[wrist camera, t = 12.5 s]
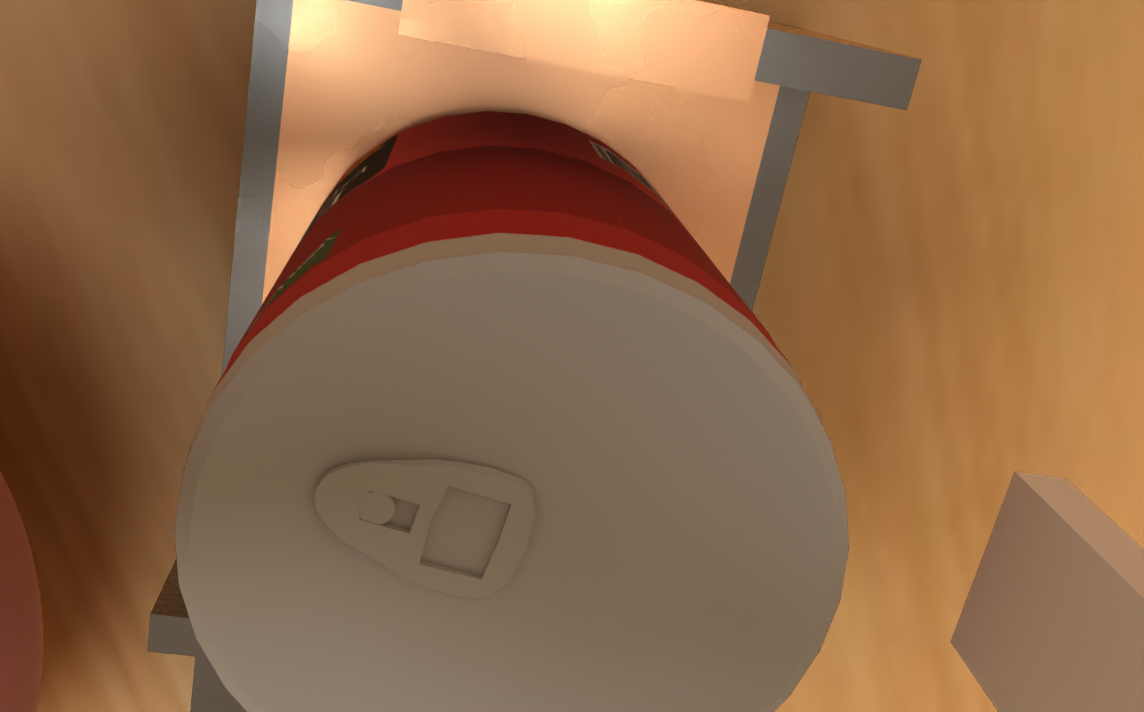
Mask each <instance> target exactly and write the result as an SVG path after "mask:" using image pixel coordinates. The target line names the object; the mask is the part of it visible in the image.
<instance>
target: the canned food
mask: <svg viewBox="0 0 1144 712" xmlns="http://www.w3.org/2000/svg"><path fill="white" fill-rule="evenodd" d="M174 530H175V543H176V556H177V568H178V581H179V587H180V590H181V593H182V596H183V599H184V602H185V605H186V608H187V611H188V615H189V618H190V621H191V624H192V627H193V630H194V633H195V636H196V639H197V641H198V642H199V644H200V646H201V647H202V649H203V651H204V653H205V654H206V656H207V658H208V659H209V661H210V663H211V664H212V666H213V668H214V669H215V671H216V673H217V674H218V676H219V678H220V680H221V681H222V683H223V685H224V686H225V688H226V689H227V690H228V691H229V692H230V693H231V694H232V696H233V697H234V698H235V699H236V700H237V701H238V702H239V703H240V704H241V705H242V707H243V708H244V709H245V710H246V711H247V712H774V711H775V710H776V709H777V708H778V707H779V706H780V705H781V704H782V703H783V702H784V701H785V700H786V699H787V698H788V697H789V696H790V695H791V693H792V692H793V690H794V689H795V687H796V686H797V684H798V683H799V681H800V680H801V678H802V677H803V675H804V674H805V672H806V671H807V669H808V668H809V666H810V665H811V663H812V662H813V660H814V659H815V657H816V656H817V654H818V653H819V651H820V649H821V647H822V644H823V642H824V639H825V637H826V634H827V632H828V629H829V627H830V624H831V622H832V619H833V617H834V614H835V612H836V609H837V607H838V604H839V602H840V598H841V592H842V586H843V580H844V574H845V568H846V562H847V556H848V550H849V539H848V522H847V506H846V492H845V489H844V485H843V482H842V479H841V475H840V472H839V469H838V465H837V462H836V459H835V455H834V452H833V449H832V445H831V442H830V438H829V437H828V435H827V433H826V431H825V430H824V428H823V424H822V421H821V418H820V416H819V414H818V412H817V410H816V408H815V407H814V405H813V403H812V401H811V400H810V398H809V396H808V394H807V393H806V391H805V389H804V387H803V386H802V384H801V382H800V380H799V379H798V377H797V375H796V373H795V371H794V370H793V368H792V366H791V365H790V364H789V362H788V361H787V360H786V358H785V357H784V356H783V354H782V353H781V352H780V350H779V349H778V348H777V347H776V345H775V343H774V342H773V340H772V338H771V336H770V334H769V333H768V332H767V331H766V329H765V328H764V327H763V325H762V324H761V323H760V322H759V320H758V319H757V318H756V317H755V315H754V314H753V313H752V311H751V310H750V309H749V308H748V306H747V305H746V304H745V303H744V301H743V300H742V299H741V297H740V296H739V295H738V294H737V292H736V291H735V290H734V289H733V287H732V286H731V285H730V283H729V282H728V281H727V280H726V278H725V277H724V276H723V275H722V273H721V272H720V271H719V270H718V268H717V267H716V266H715V264H714V263H713V262H712V261H711V259H710V258H709V257H708V256H707V254H706V253H705V252H704V250H703V249H702V248H701V247H700V245H699V244H698V243H697V242H696V240H695V239H694V238H693V236H692V235H691V234H690V233H689V231H688V230H687V229H686V228H685V226H684V225H683V224H682V222H681V221H680V220H679V219H678V217H677V216H676V215H675V214H674V212H673V211H672V210H671V208H670V207H669V206H668V205H667V203H666V202H665V201H664V200H663V198H662V197H661V196H660V194H659V193H658V192H657V191H656V190H655V189H654V188H653V187H652V185H651V184H650V183H649V182H648V181H647V180H646V179H645V178H644V176H643V175H642V174H641V173H640V172H639V171H638V170H637V169H636V167H635V166H634V165H632V164H631V163H630V162H628V161H627V160H626V159H624V158H623V157H622V156H620V155H619V154H618V153H616V152H615V151H614V150H612V149H611V148H610V147H608V146H607V145H606V144H604V143H603V142H601V141H599V140H597V139H595V138H593V137H591V136H589V135H587V134H585V133H583V132H581V131H579V130H577V129H575V128H573V127H571V126H568V125H566V124H563V123H559V122H555V121H551V120H548V119H544V118H540V117H536V116H533V115H529V114H520V113H506V112H492V111H483V112H475V113H466V114H458V115H450V116H444V117H441V118H438V119H435V120H432V121H429V122H426V123H423V124H420V125H417V126H414V127H411V128H408V129H406V130H404V131H402V132H400V133H399V134H397V135H395V136H393V137H392V138H390V139H388V140H386V141H385V142H383V143H381V144H379V145H378V146H376V147H374V148H373V149H372V150H370V151H369V152H368V153H367V154H366V155H365V156H364V157H363V158H361V159H360V160H359V161H358V162H357V163H356V164H355V165H354V166H352V167H351V168H350V169H349V170H348V171H347V172H346V173H345V174H344V175H343V176H342V177H341V179H340V180H339V182H338V183H337V184H336V186H335V187H334V188H333V190H332V191H331V193H330V194H329V195H328V197H327V198H326V199H325V201H324V202H323V204H322V205H321V207H320V208H319V210H318V212H317V213H316V215H315V217H314V218H313V220H312V222H311V223H310V225H309V227H308V228H307V230H306V232H305V233H304V235H303V237H302V238H301V240H300V242H299V244H298V245H297V247H296V249H295V250H294V252H293V254H292V255H291V257H290V259H289V260H288V262H287V264H286V265H285V267H284V269H283V270H282V272H281V274H280V275H279V277H278V279H277V280H276V282H275V284H274V285H273V287H272V289H271V290H270V292H269V294H268V295H267V297H266V299H265V300H264V302H263V304H262V305H261V307H260V309H259V311H258V312H257V314H256V316H255V317H254V319H253V321H252V322H251V324H250V326H249V327H248V329H247V331H246V332H245V334H244V336H243V337H242V339H241V341H240V342H239V344H238V346H237V347H236V349H235V351H234V352H233V354H232V356H231V358H230V360H229V363H228V365H227V367H226V370H225V372H224V374H223V375H222V377H221V379H220V380H219V382H218V384H217V386H216V387H215V389H214V391H213V393H212V396H211V398H210V400H209V403H208V405H207V407H206V410H205V412H204V414H203V417H202V419H201V421H200V424H199V426H198V428H197V431H196V433H195V435H194V438H193V440H192V443H191V445H190V449H189V455H188V461H187V463H186V466H185V468H184V471H183V478H182V484H181V490H180V496H179V502H178V508H177V514H176V520H175V526H174Z"/></svg>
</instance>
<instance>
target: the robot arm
mask: <svg viewBox="0 0 1144 712" xmlns="http://www.w3.org/2000/svg"><path fill="white" fill-rule="evenodd" d="M951 643H952V645H953V646H954V648H955V649H956V651H957V652H958V654H959V655H960V656H961V658H962V659H963V661H964V662H965V664H966V665H967V667H968V668H969V670H970V671H971V673H972V674H973V675H974V677H975V678H976V680H977V681H978V683H979V684H980V686H981V687H982V689H983V690H984V692H985V693H986V695H987V696H988V697H989V699H990V700H991V702H992V703H993V705H994V706H995V708H996V709H997V711H998V712H1144V549H1143V548H1142V547H1141V546H1140V545H1139V544H1138V543H1137V542H1135V541H1134V540H1133V539H1132V538H1131V537H1130V536H1129V535H1128V534H1127V533H1126V532H1124V531H1123V530H1122V529H1121V528H1120V527H1119V526H1118V525H1117V524H1116V523H1115V522H1114V521H1112V520H1111V519H1110V518H1109V517H1108V516H1107V515H1106V514H1105V513H1104V512H1103V511H1101V510H1100V509H1099V508H1098V507H1097V506H1096V505H1095V504H1094V503H1093V502H1092V501H1091V500H1089V499H1088V498H1087V497H1086V496H1085V495H1084V494H1083V493H1082V492H1081V491H1080V490H1078V489H1077V488H1076V487H1075V486H1074V485H1073V484H1072V483H1071V482H1070V481H1069V480H1068V479H1066V478H1059V477H1052V476H1045V475H1038V474H1031V473H1024V472H1017V471H1015V472H1014V474H1013V477H1012V480H1011V482H1010V485H1009V488H1008V490H1007V493H1006V496H1005V498H1004V501H1003V504H1002V506H1001V509H1000V512H999V514H998V517H997V520H996V522H995V525H994V528H993V530H992V533H991V536H990V538H989V541H988V544H987V546H986V549H985V552H984V554H983V557H982V560H981V562H980V565H979V568H978V570H977V573H976V576H975V578H974V581H973V584H972V586H971V589H970V591H969V594H968V597H967V599H966V602H965V605H964V607H963V610H962V613H961V615H960V618H959V621H958V623H957V626H956V629H955V631H954V634H953V637H952V639H951Z"/></svg>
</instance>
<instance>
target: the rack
mask: <svg viewBox="0 0 1144 712" xmlns="http://www.w3.org/2000/svg"><path fill="white" fill-rule="evenodd" d="M769 18H770V15H765V14H761V13H757V12H753V11H749V10H745V9H740V8H735V7H730V6H726V5H721V4H716V3H711V2H706V1H701V0H257V4H256V14H255V25H254V36H253V46H252V57H251V68H250V78H249V89H248V100H247V111H246V121H245V132H244V143H243V153H242V164H241V175H240V186H239V196H238V207H237V218H236V228H235V239H234V250H233V260H232V271H231V282H230V293H229V303H228V314H227V325H226V335H225V346H224V357H223V368H222V375H223V374H224V372H225V370H226V367H227V365H228V363H229V360H230V358H231V356H232V354H233V352H234V351H235V349H236V347H237V346H238V344H239V342H240V341H241V339H242V337H243V336H244V334H245V332H246V331H247V329H248V327H249V326H250V324H251V322H252V321H253V319H254V317H255V316H256V314H257V312H258V311H259V309H260V307H261V305H262V304H263V302H264V300H265V299H266V297H267V295H268V294H269V292H270V290H271V289H272V287H273V285H274V284H275V282H276V280H277V279H278V277H279V275H280V274H281V272H282V270H283V269H284V267H285V265H286V264H287V262H288V260H289V259H290V257H291V255H292V254H293V252H294V250H295V249H296V247H297V245H298V244H299V242H300V240H301V238H302V237H303V235H304V233H305V232H306V230H307V228H308V227H309V225H310V223H311V222H312V220H313V218H314V217H315V215H316V213H317V212H318V210H319V208H320V207H321V205H322V204H323V202H324V201H325V199H326V198H327V197H328V195H329V194H330V193H331V191H332V190H333V188H334V187H335V186H336V184H337V183H338V182H339V180H340V179H341V177H342V176H343V175H344V174H345V173H346V172H347V171H348V170H349V169H350V168H351V167H352V166H354V165H355V164H356V163H357V162H358V161H359V160H360V159H361V158H363V157H364V156H365V155H366V154H367V153H368V152H369V151H370V150H372V149H373V148H374V147H376V146H378V145H379V144H381V143H383V142H385V141H386V140H388V139H390V138H392V137H393V136H395V135H397V134H399V133H400V132H402V131H404V130H406V129H408V128H411V127H414V126H417V125H420V124H423V123H426V122H429V121H432V120H435V119H438V118H441V117H444V116H450V115H458V114H466V113H475V112H483V111H492V112H506V113H520V114H529V115H533V116H536V117H540V118H544V119H548V120H551V121H555V122H559V123H563V124H566V125H568V126H571V127H573V128H575V129H577V130H579V131H581V132H583V133H585V134H587V135H589V136H591V137H593V138H595V139H597V140H599V141H601V142H603V143H604V144H606V145H607V146H608V147H610V148H611V149H612V150H614V151H615V152H616V153H618V154H619V155H620V156H622V157H623V158H624V159H626V160H627V161H628V162H630V163H631V164H632V165H634V166H635V167H636V169H637V170H638V171H639V172H640V173H641V174H642V175H643V176H644V178H645V179H646V180H647V181H648V182H649V183H650V184H651V185H652V187H653V188H654V189H655V190H656V191H657V192H658V193H659V194H660V196H661V197H662V198H663V200H664V201H665V202H666V203H667V205H668V206H669V207H670V208H671V210H672V211H673V212H674V214H675V215H676V216H677V217H678V219H679V220H680V221H681V222H682V224H683V225H684V226H685V228H686V229H687V230H688V231H689V233H690V234H691V235H692V236H693V238H694V239H695V240H696V242H697V243H698V244H699V245H700V247H701V248H702V249H703V250H704V252H705V253H706V254H707V256H708V257H709V258H710V259H711V261H712V262H713V263H714V264H715V266H716V267H717V268H718V270H719V271H720V272H721V273H722V275H723V276H724V277H725V278H726V280H727V281H728V282H729V283H730V285H731V286H732V287H733V289H734V290H735V291H736V292H737V294H738V295H739V296H740V297H741V299H742V300H743V301H744V303H745V304H746V305H747V306H748V308H749V309H750V310H751V311H752V310H753V306H754V302H755V298H756V294H757V290H758V287H759V283H760V279H761V275H762V271H763V268H764V264H765V260H766V256H767V252H768V249H769V245H770V241H771V237H772V233H773V230H774V226H775V222H776V218H777V214H778V211H779V207H780V203H781V199H782V195H783V192H784V188H785V184H786V180H787V176H788V173H789V169H790V165H791V161H792V157H793V154H794V150H795V146H796V142H797V138H798V135H799V131H800V127H801V123H802V119H803V116H804V112H805V108H806V104H807V100H808V97H809V93H810V92H815V93H821V94H826V95H831V96H836V97H841V98H846V99H851V100H856V101H861V102H866V103H871V104H876V105H882V106H887V107H892V108H897V109H902V110H907V108H908V105H909V101H910V98H911V94H912V91H913V88H914V84H915V81H916V77H917V74H918V71H919V67H920V64H921V59H917V58H913V57H909V56H905V55H901V54H897V53H894V52H890V51H886V50H882V49H878V48H874V47H870V46H866V45H862V44H859V43H855V42H851V41H847V40H843V39H839V38H835V37H831V36H827V35H824V34H820V33H816V32H812V31H808V30H804V29H799V28H795V27H790V26H785V25H780V24H775V23H770V22H769ZM148 652H158V653H168V654H177V655H187V656H196V657H195V667H194V678H193V689H192V699H191V710H190V712H247V711H246V710H245V709H244V708H243V707H242V705H241V704H240V703H239V702H238V701H237V700H236V699H235V698H234V697H233V696H232V694H231V693H230V692H229V691H228V690H227V689H226V688H225V686H224V685H223V683H222V681H221V680H220V678H219V676H218V674H217V673H216V671H215V669H214V668H213V666H212V664H211V663H210V661H209V659H208V658H207V656H206V654H205V653H204V651H203V649H202V647H201V646H200V644H199V642H198V641H197V639H196V636H195V633H194V630H193V627H192V624H191V621H190V618H189V615H188V611H187V608H186V605H185V602H184V599H183V596H182V593H181V590H180V587H179V581H178V568H177V559H176V561H175V563H174V565H173V567H172V569H171V571H170V573H169V576H168V578H167V580H166V582H165V584H164V586H163V588H162V590H161V593H160V595H159V597H158V599H157V601H156V603H155V605H154V607H153V609H152V612H151V614H150V626H149V639H148Z"/></svg>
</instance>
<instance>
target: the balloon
mask: <svg viewBox="0 0 1144 712" xmlns="http://www.w3.org/2000/svg"><path fill="white" fill-rule="evenodd" d="M43 643H44V641H43V616H42V605H41V596H40V589H39V583H38V577H37V572H36V567H35V562H34V558H33V554H32V550H31V546H30V543H29V539H28V536H27V533H26V530H25V527H24V524H23V521H22V518H21V515H20V513H19V510H18V508H17V505H16V503H15V500H14V498H13V496H12V493H11V491H10V489H9V487H8V485H7V483H6V481H5V479H4V477H3V475H2V473H1V471H0V712H37V709H38V704H39V697H40V690H41V680H42V668H43Z"/></svg>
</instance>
